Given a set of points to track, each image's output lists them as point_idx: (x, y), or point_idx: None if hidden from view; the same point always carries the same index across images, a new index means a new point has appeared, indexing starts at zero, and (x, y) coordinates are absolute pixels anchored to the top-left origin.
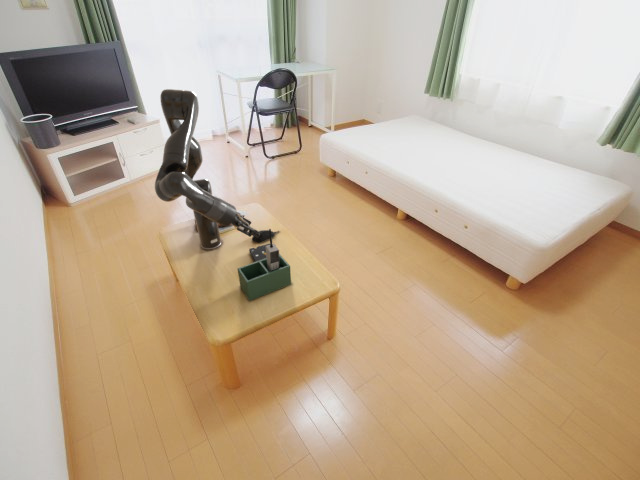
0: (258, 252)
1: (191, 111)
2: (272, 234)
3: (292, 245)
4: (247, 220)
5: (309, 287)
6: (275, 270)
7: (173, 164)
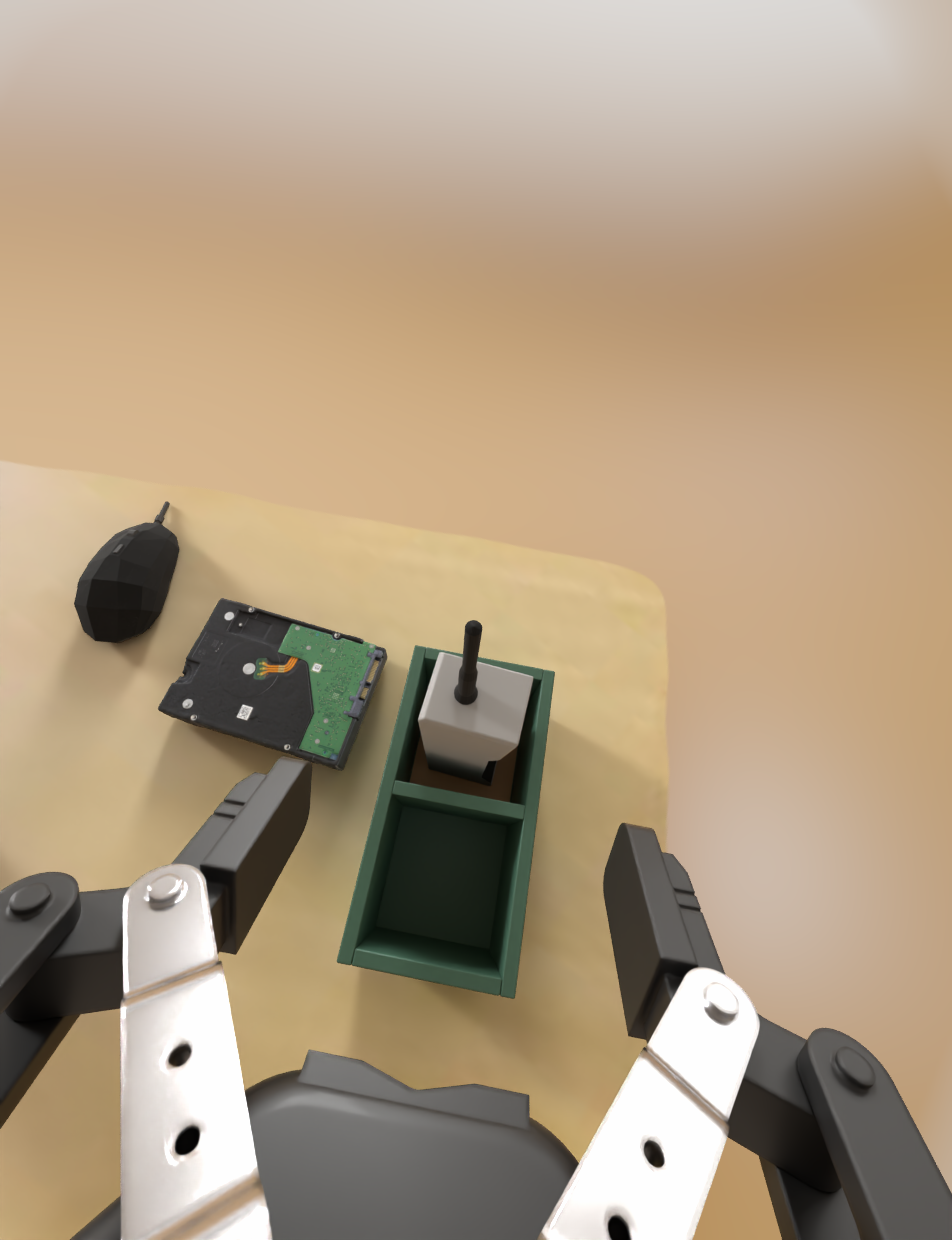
0: (231, 689)
1: None
2: (167, 539)
3: (309, 526)
4: (277, 816)
5: (604, 661)
6: (534, 763)
7: None
